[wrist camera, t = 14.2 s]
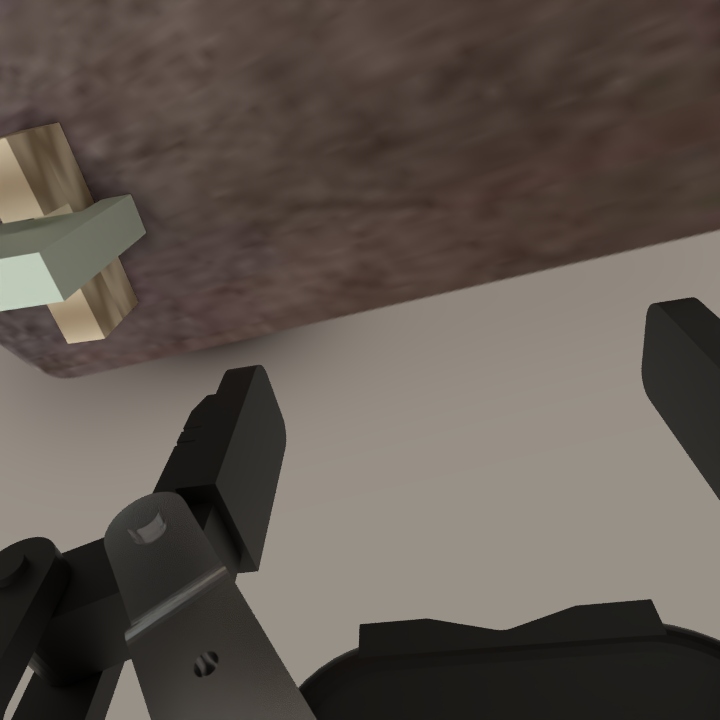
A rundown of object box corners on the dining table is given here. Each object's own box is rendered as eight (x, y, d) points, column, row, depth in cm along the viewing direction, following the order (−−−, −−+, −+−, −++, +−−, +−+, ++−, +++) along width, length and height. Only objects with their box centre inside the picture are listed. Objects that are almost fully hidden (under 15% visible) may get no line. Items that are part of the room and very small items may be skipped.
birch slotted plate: (20, 130, 38) (-39, 147, 32) (59, 122, 37) (5, 137, 32) (105, 307, 45) (68, 343, 40) (138, 302, 44) (105, 338, 39)
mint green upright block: (41, 250, 42) (-71, 321, 32) (22, 213, 41) (-102, 276, 31) (146, 232, 41) (64, 301, 31) (130, 193, 39) (38, 252, 29)
